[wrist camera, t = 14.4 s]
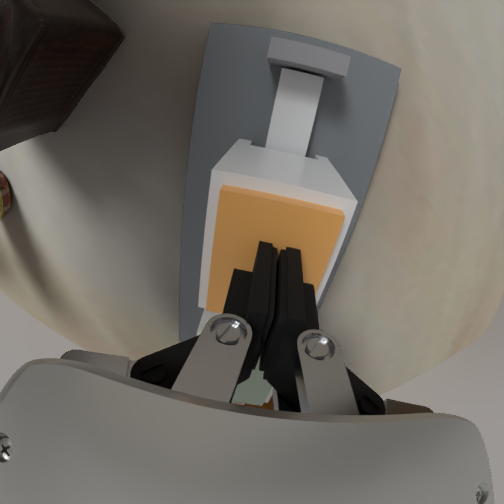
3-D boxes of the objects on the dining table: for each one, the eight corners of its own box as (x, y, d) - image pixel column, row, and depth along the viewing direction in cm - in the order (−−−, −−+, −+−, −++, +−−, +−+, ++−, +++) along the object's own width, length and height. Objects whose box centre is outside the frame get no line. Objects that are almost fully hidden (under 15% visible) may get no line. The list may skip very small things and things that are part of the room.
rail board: (216, 27, 13) (158, -23, 5) (392, 70, 14) (478, 63, 5) (183, 330, 28) (156, 407, 20) (292, 352, 29) (290, 432, 20)
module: (239, 138, 16) (208, 174, 9) (327, 157, 16) (361, 207, 9) (223, 234, 20) (195, 315, 13) (300, 250, 20) (307, 336, 13)
